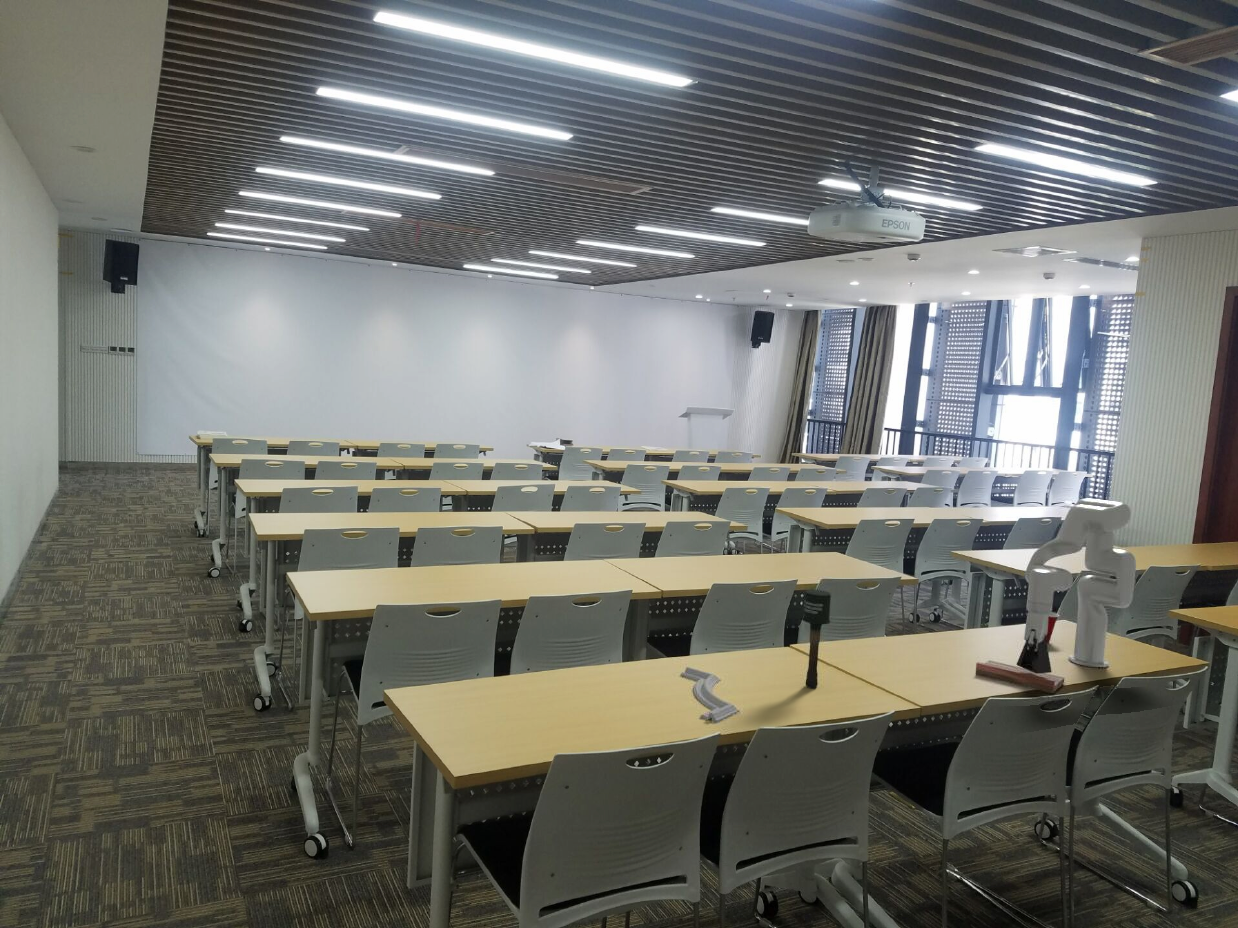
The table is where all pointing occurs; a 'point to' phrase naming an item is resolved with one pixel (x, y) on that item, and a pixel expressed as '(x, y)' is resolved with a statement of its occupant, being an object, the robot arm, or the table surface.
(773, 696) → the table surface
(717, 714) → the molding
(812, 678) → the stick grenade
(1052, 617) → the plastic cup
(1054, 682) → the board
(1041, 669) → the door stopper
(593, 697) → the table surface
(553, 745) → the table surface
